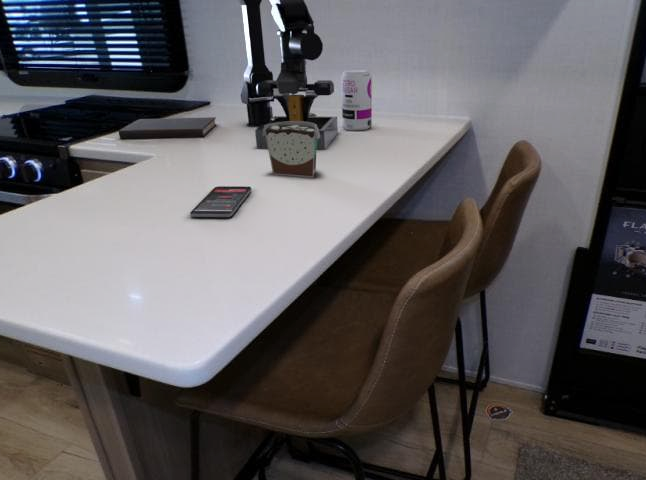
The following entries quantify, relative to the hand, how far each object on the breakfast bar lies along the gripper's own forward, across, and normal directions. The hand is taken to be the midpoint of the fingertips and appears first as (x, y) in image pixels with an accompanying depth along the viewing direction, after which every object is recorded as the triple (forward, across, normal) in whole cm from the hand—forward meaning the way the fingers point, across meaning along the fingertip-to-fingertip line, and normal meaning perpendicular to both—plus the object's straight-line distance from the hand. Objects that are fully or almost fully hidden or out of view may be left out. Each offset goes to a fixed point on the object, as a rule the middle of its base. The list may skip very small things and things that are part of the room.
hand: (297, 123), depth 135 cm
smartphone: (+4, -2, -49) cm, 49 cm away
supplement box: (+3, 0, 0) cm, 3 cm away
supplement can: (+4, +13, +16) cm, 21 cm away
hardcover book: (+5, -40, +8) cm, 41 cm away
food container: (+4, +7, -28) cm, 29 cm away
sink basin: (+4, 0, 0) cm, 4 cm away
